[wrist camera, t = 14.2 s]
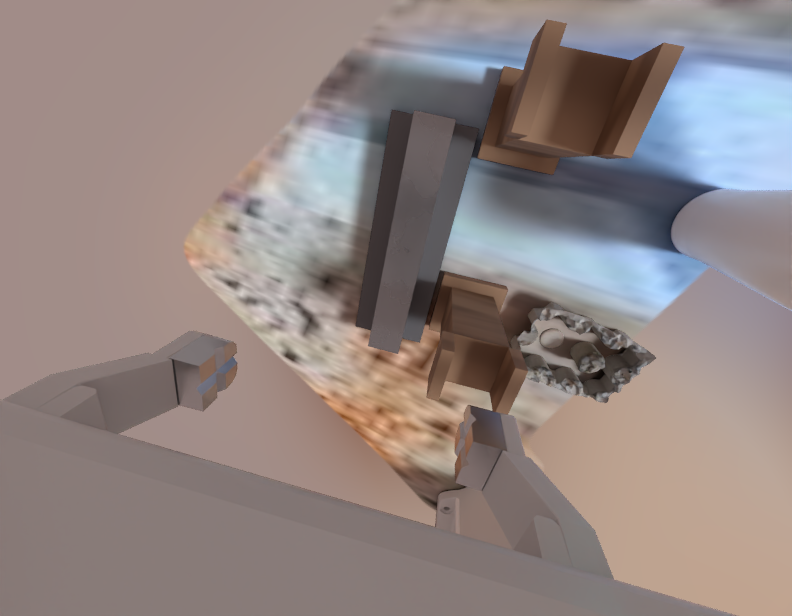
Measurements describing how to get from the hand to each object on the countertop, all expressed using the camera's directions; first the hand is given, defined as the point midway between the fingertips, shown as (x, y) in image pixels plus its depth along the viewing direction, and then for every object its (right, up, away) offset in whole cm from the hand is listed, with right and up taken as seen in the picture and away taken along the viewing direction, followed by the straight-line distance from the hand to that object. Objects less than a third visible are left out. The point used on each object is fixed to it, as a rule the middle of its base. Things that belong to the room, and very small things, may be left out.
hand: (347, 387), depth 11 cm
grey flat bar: (+3, +9, +19) cm, 21 cm away
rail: (+3, +9, +18) cm, 20 cm away
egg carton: (+19, -1, +21) cm, 28 cm away
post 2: (+12, +17, +14) cm, 25 cm away
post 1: (+9, +3, +21) cm, 23 cm away
